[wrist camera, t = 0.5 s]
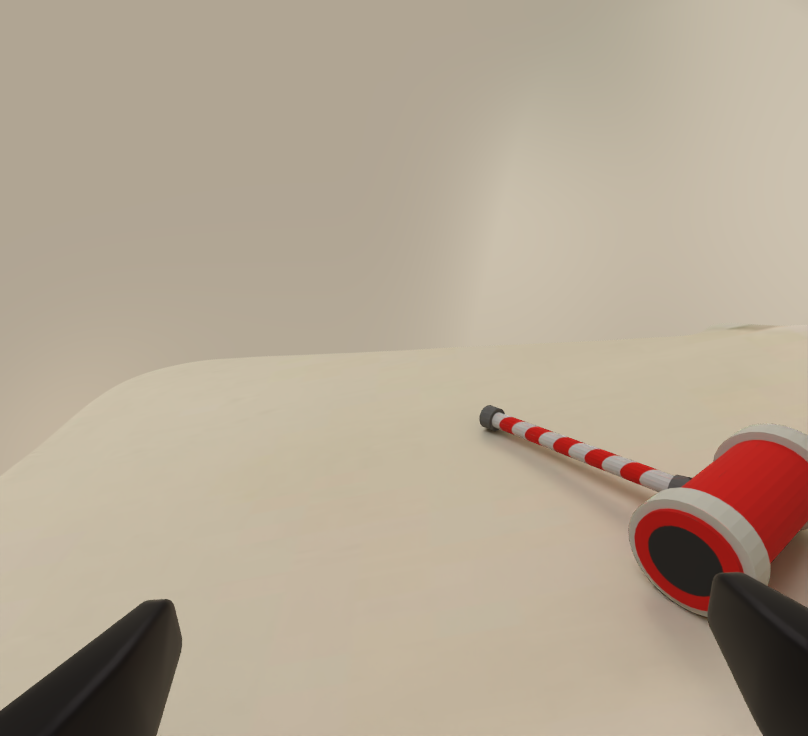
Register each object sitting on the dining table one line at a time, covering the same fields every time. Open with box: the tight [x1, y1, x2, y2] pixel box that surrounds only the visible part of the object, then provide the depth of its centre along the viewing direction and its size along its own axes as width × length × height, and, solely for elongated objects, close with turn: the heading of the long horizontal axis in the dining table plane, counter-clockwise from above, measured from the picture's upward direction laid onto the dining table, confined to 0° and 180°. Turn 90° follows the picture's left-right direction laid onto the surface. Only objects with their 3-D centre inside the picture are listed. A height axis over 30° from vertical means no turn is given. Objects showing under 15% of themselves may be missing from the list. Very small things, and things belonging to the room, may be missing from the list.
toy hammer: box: [480, 405, 808, 617], centre depth 36 cm, size 23×12×6 cm, turn 37°
